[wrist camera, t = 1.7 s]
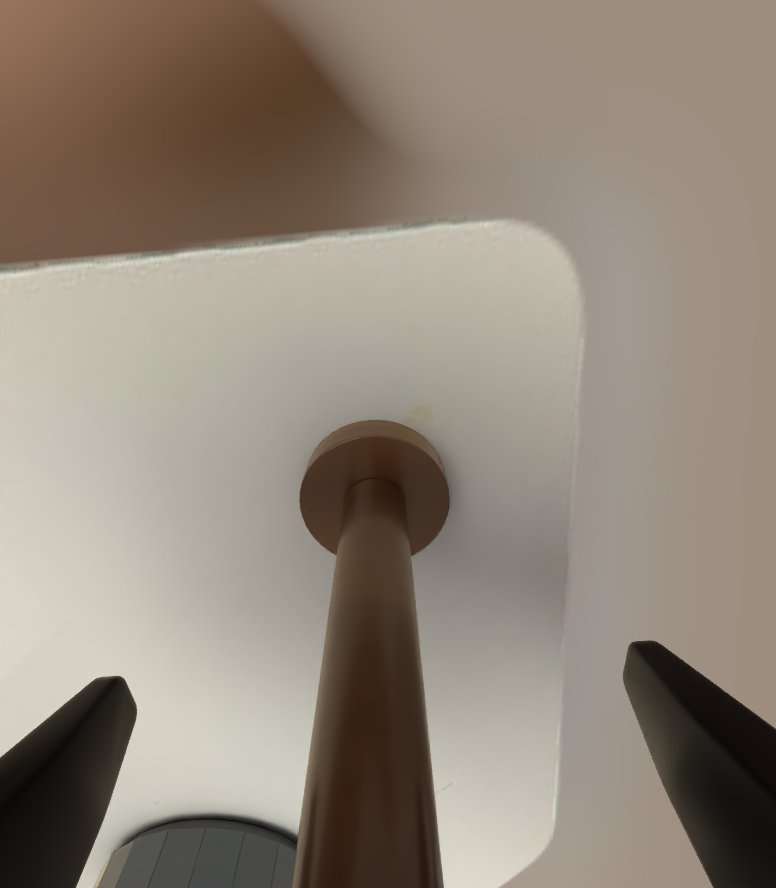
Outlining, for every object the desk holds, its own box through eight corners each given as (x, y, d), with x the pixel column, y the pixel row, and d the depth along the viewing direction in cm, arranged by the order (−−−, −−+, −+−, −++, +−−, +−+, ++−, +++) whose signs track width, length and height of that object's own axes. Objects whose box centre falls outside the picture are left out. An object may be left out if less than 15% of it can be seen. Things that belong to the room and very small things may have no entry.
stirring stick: (446, 536, 15) (611, 1272, 4) (315, 545, 15) (158, 1291, 4) (443, 414, 13) (715, 1151, 3) (295, 425, 13) (-59, 1191, 3)
